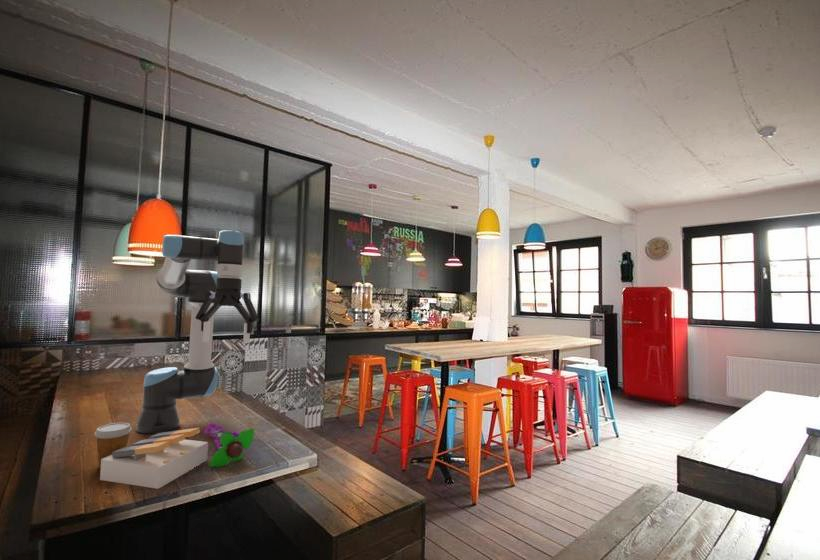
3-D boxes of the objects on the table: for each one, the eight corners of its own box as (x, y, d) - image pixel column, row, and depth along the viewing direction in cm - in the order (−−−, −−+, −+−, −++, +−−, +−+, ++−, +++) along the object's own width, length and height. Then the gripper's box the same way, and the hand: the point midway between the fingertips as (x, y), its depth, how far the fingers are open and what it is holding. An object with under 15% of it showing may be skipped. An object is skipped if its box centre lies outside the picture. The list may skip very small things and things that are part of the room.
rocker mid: (131, 449, 125) (131, 444, 125) (142, 444, 129) (142, 439, 129) (175, 443, 122) (174, 438, 122) (185, 439, 126) (184, 434, 126)
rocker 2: (149, 442, 131) (148, 437, 131) (159, 437, 135) (158, 433, 135) (191, 436, 128) (190, 431, 128) (200, 432, 132) (199, 427, 132)
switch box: (100, 479, 117) (101, 454, 117) (155, 453, 137) (157, 431, 137) (158, 488, 113) (159, 462, 113) (207, 460, 133) (208, 437, 133)
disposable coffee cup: (105, 458, 131) (108, 421, 132) (136, 458, 132) (138, 422, 133) (84, 471, 122) (87, 431, 122) (117, 471, 123) (119, 432, 123)
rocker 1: (112, 457, 118) (111, 452, 118) (124, 452, 122) (124, 447, 122) (158, 451, 115) (157, 446, 115) (169, 446, 119) (168, 441, 119)
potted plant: (223, 485, 125) (197, 456, 152) (268, 447, 135) (237, 426, 162) (202, 454, 122) (180, 430, 149) (250, 418, 132) (221, 402, 159)
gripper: (185, 276, 129) (182, 342, 128) (261, 278, 127) (258, 345, 126) (199, 277, 136) (196, 339, 135) (270, 279, 134) (268, 342, 134)
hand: (226, 342), depth 131 cm, fingers open, 13 cm apart
